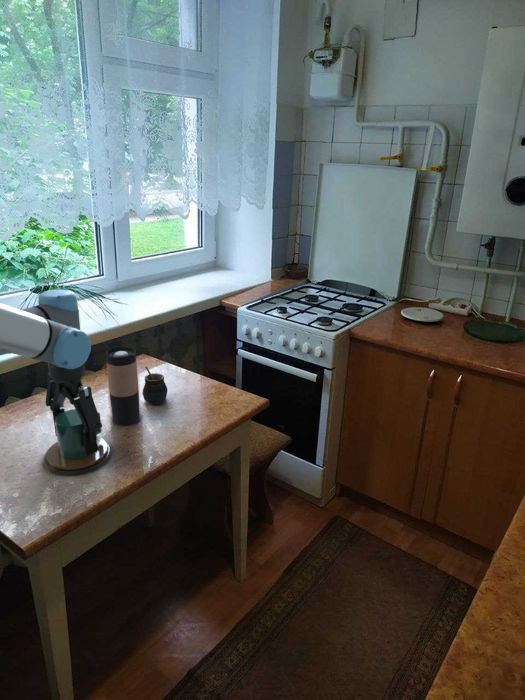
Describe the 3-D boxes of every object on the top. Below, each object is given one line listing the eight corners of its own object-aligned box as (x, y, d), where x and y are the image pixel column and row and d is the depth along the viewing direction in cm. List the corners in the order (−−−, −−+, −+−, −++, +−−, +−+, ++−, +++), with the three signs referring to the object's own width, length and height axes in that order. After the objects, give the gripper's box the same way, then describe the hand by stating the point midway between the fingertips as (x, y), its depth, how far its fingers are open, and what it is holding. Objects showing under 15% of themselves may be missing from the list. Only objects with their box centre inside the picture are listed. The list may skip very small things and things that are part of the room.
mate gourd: (156, 409, 142) (154, 378, 139) (136, 402, 146) (134, 371, 142) (172, 400, 148) (171, 369, 144) (154, 393, 152) (152, 363, 148)
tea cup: (67, 478, 110) (62, 440, 106) (34, 454, 118) (28, 418, 114) (119, 451, 120) (116, 415, 117) (85, 431, 128) (81, 397, 125)
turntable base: (67, 483, 110) (67, 480, 109) (31, 458, 118) (31, 455, 118) (123, 454, 121) (122, 451, 120) (86, 433, 129) (86, 430, 129)
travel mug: (107, 417, 137) (100, 350, 130) (131, 409, 142) (126, 344, 134) (120, 428, 132) (114, 359, 124) (145, 419, 137) (141, 352, 129)
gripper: (113, 368, 106) (120, 454, 114) (51, 341, 119) (62, 420, 128) (82, 380, 100) (92, 469, 109) (21, 350, 114) (34, 432, 122)
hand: (76, 443), depth 118 cm, fingers open, 12 cm apart
